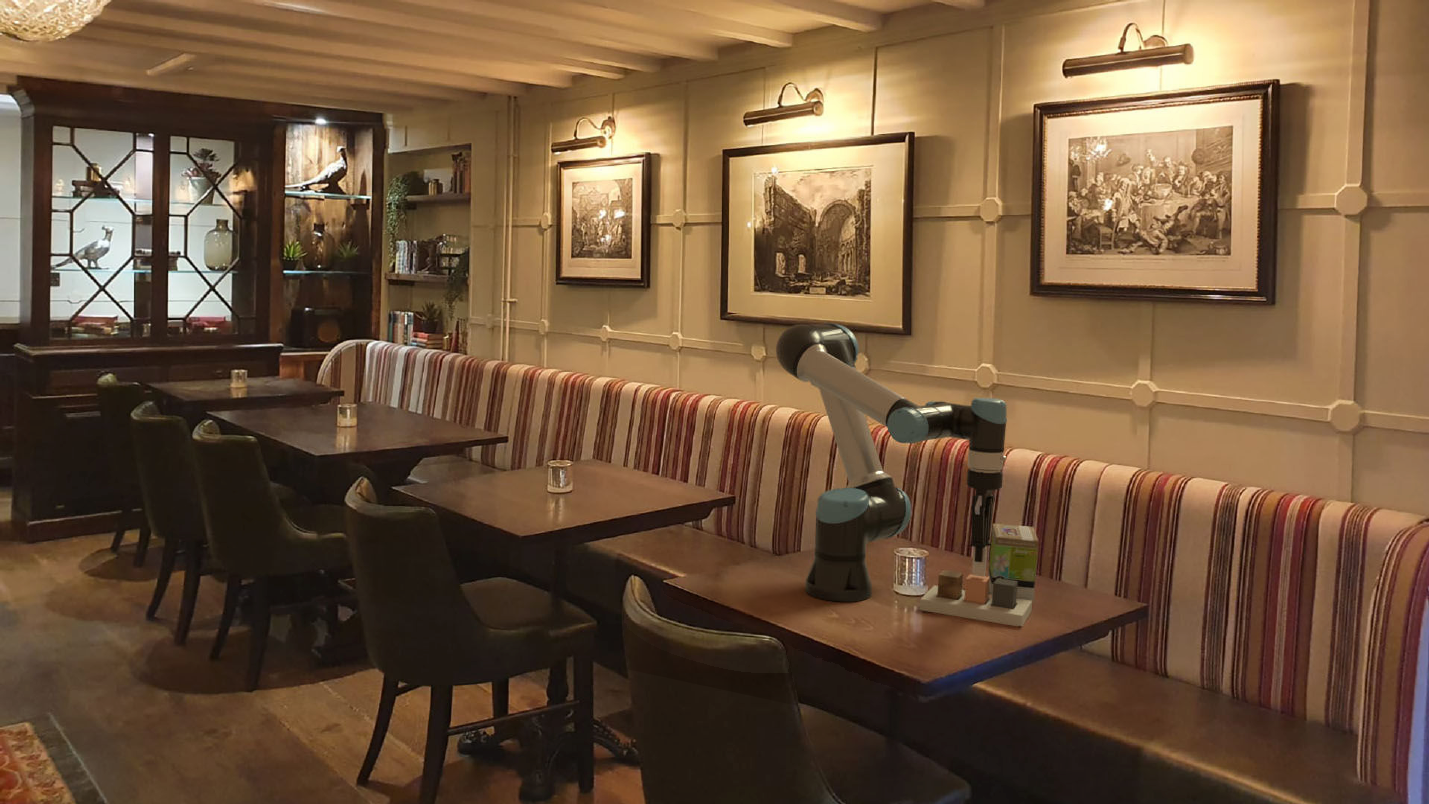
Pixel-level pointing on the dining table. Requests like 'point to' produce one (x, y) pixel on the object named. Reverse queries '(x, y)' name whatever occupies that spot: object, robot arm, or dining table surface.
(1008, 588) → the key dark grey
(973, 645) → the dining table surface
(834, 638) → the dining table surface
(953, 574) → the key walnut
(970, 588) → the key terracotta
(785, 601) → the dining table surface
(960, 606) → the key panel
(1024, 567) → the tea box
